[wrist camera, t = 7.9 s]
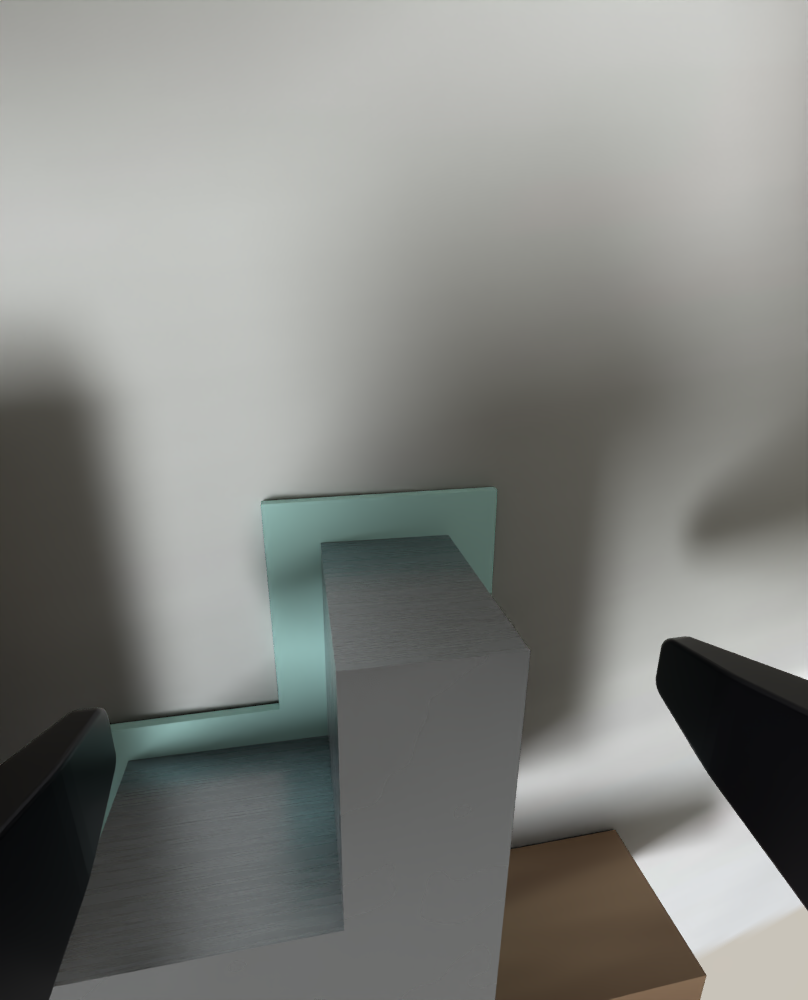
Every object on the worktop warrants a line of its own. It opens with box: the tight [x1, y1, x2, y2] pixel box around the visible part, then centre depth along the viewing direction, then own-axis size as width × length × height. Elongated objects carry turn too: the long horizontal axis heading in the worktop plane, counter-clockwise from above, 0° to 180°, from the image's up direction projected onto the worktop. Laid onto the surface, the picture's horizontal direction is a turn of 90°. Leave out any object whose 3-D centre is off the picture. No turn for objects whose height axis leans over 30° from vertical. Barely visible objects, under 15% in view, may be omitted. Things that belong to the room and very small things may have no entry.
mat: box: [99, 487, 497, 839], centre depth 11 cm, size 9×8×1 cm
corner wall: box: [495, 830, 706, 1000], centre depth 10 cm, size 13×16×4 cm
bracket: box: [49, 535, 531, 1000], centre depth 9 cm, size 7×6×4 cm
